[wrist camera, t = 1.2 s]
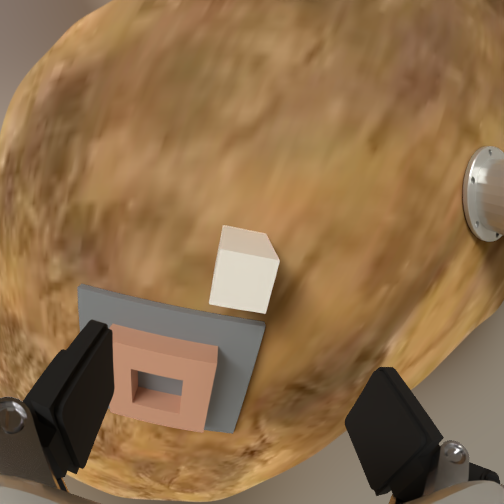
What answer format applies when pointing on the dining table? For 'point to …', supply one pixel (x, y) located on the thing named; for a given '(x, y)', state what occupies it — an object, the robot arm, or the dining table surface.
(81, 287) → the socket board
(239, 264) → the plug
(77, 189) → the dining table surface
